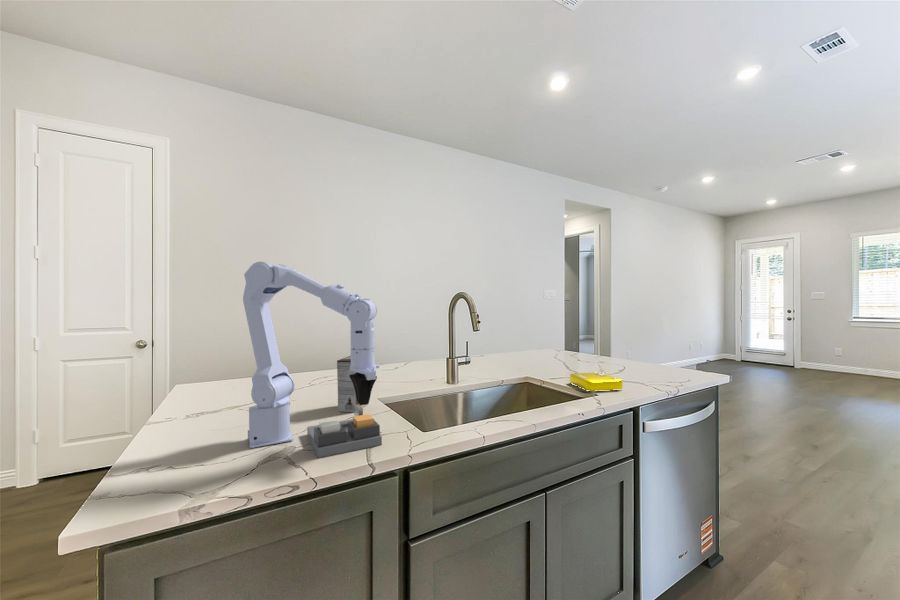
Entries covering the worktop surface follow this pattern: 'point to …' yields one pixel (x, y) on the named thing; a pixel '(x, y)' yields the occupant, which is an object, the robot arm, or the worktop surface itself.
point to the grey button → (329, 426)
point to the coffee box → (346, 386)
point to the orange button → (363, 420)
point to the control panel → (344, 438)
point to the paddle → (358, 410)
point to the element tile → (596, 381)
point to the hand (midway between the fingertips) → (363, 403)
